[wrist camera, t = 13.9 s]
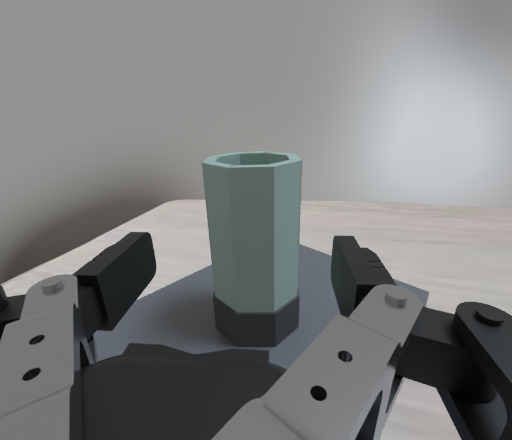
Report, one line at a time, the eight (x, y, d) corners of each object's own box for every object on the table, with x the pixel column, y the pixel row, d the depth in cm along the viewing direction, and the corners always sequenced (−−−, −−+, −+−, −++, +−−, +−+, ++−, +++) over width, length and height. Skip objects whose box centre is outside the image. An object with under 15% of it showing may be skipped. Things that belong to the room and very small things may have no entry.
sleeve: (257, 283, 23) (253, 149, 19) (312, 315, 19) (322, 156, 15) (202, 316, 19) (183, 159, 15) (256, 363, 16) (249, 172, 12)
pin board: (274, 246, 32) (274, 198, 30) (425, 307, 22) (441, 241, 20) (54, 359, 18) (24, 284, 16) (183, 698, 8) (146, 611, 5)
